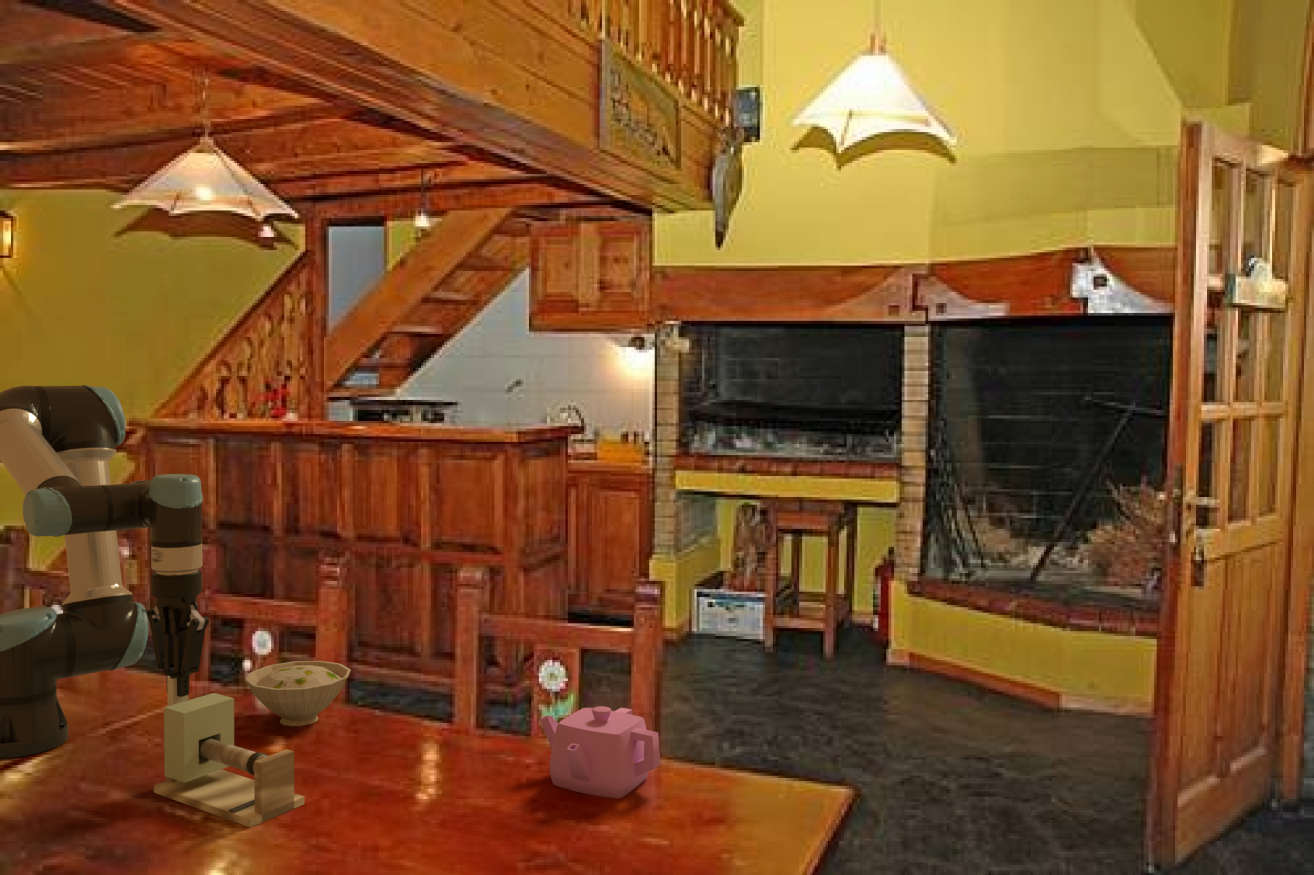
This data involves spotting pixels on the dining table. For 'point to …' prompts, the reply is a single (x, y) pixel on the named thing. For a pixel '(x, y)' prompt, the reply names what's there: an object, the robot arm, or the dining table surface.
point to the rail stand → (239, 785)
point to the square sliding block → (196, 734)
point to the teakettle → (601, 751)
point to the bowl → (298, 688)
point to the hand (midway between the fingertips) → (178, 714)
